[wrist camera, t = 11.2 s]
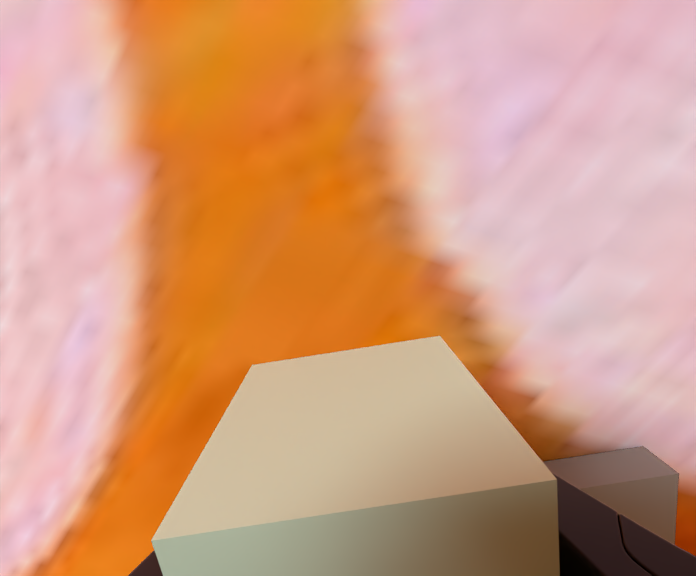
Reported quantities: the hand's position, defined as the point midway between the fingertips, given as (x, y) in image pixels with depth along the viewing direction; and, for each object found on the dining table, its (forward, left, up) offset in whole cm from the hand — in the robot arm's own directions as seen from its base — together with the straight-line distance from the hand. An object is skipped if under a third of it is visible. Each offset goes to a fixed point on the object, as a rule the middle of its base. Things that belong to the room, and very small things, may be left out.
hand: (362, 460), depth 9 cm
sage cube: (0, 0, -1) cm, 1 cm away
